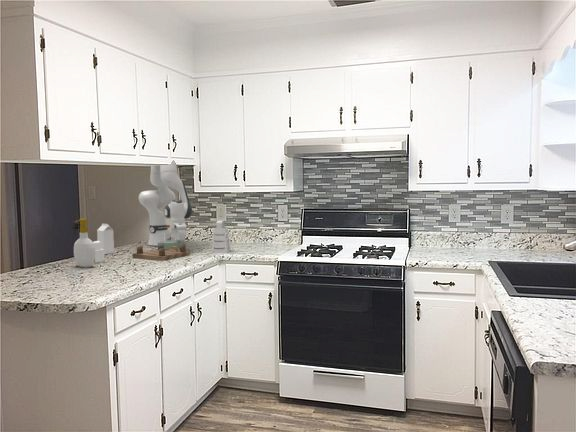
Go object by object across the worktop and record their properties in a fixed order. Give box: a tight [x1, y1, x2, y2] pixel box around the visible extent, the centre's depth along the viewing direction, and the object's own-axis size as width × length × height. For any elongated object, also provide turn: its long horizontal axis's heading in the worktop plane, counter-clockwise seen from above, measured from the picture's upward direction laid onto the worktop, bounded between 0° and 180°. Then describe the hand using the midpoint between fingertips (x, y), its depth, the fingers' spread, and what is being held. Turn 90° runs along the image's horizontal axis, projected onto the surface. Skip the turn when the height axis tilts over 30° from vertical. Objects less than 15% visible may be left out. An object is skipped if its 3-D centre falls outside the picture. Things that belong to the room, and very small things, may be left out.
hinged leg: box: [157, 241, 186, 250], centre depth 307 cm, size 17×4×4 cm, turn 101°
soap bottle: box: [73, 218, 95, 268], centre depth 260 cm, size 14×9×26 cm, turn 59°
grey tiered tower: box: [210, 220, 232, 254], centre depth 311 cm, size 10×10×20 cm
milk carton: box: [96, 223, 115, 255], centre depth 305 cm, size 7×7×19 cm
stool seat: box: [131, 244, 191, 262], centre depth 293 cm, size 24×24×6 cm
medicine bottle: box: [91, 240, 106, 264], centre depth 275 cm, size 7×7×12 cm
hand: (178, 246), depth 310 cm, fingers closed
